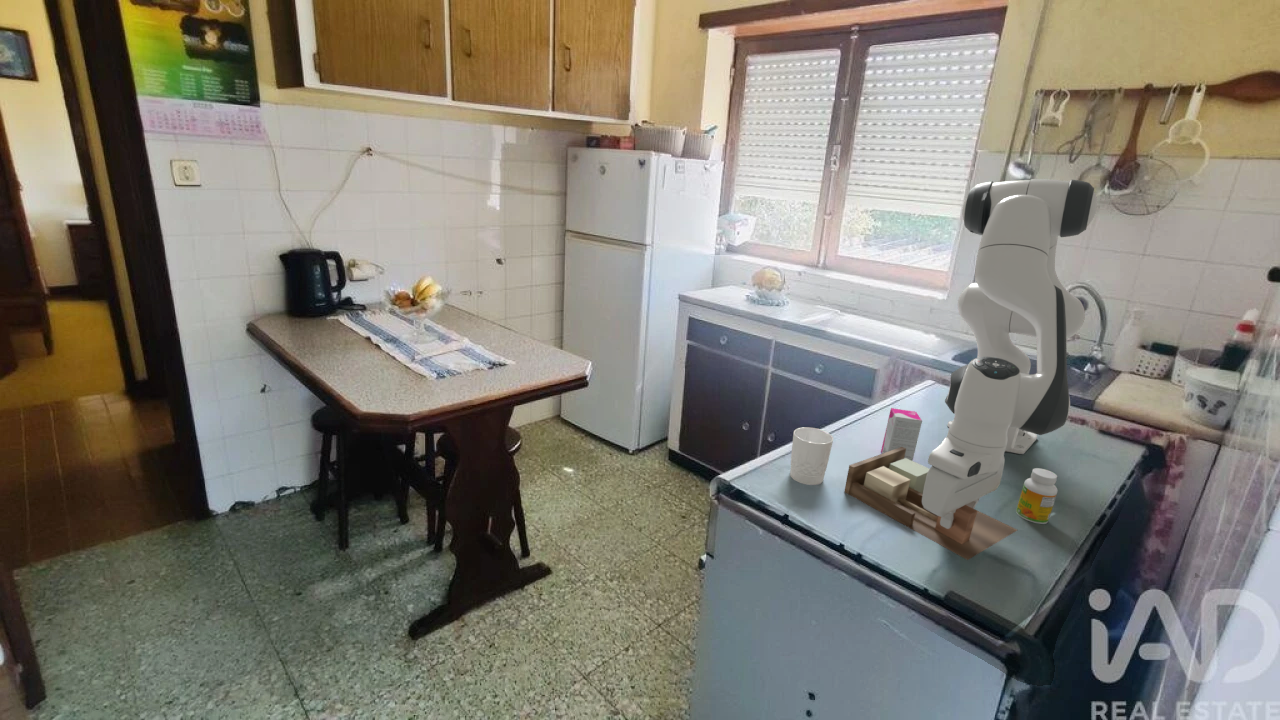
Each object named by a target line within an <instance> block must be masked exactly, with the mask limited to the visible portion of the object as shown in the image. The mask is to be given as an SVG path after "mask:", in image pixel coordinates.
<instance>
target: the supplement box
mask: <svg viewBox="0 0 1280 720" xmlns="http://www.w3.org/2000/svg"><path fill="white" fill-rule="evenodd" d="M888 414H889V415H888V420H887V425H886V428H885V433H884V437H883V442H882V446H881V449H880V454H883V453H886V452H888V451H891V450H894V449H897V448H900V447H904V448H906V452H905V456H904V458H907V459H909V460H911V461H914V458H915V453H916V449H917V444H918V440H919V436H920V432H921V428H922V424H923V420H922V418H921V416H920V415H919V414H918V413H917V411H915V410H907V409H901V408H900V409H898V408H894V407H893V408H892V407H891V408H890V411H889V413H888Z"/></svg>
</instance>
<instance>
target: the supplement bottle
mask: <svg viewBox="0 0 1280 720" xmlns="http://www.w3.org/2000/svg"><path fill="white" fill-rule="evenodd" d="M1031 471H1032V472H1031V474H1030V477H1029V478H1027V479H1025V480H1024V483H1023V485H1022V489H1021V493H1020V496H1019V500H1018V503H1017V505H1016V509H1015V512H1016V515H1017V516H1019V517H1020V518H1022V519H1023V520H1026V521H1029V522H1031V523H1035V524H1042V525H1046V524H1047V523H1049V520H1050V518H1051V513H1052V511H1053V508H1054V504H1055V501H1056V498H1057V494H1058V488H1057V486H1056V485H1055V484H1056V483H1057V480H1058V479H1057V478H1058V475H1057V474H1056V473H1054V472H1053V471H1050V470H1048V469H1045V468H1038V467H1036V468H1032V470H1031Z"/></svg>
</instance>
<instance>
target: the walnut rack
mask: <svg viewBox="0 0 1280 720" xmlns="http://www.w3.org/2000/svg"><path fill="white" fill-rule="evenodd" d="M905 452H906V448H904V447H900V448H897V449H894V450H891V451H888V452H886V453H883V454H881V453H880V454H877V455H875V456H872V457H869V458H865V459H863V460H860V461H857V462H854V463H852V464H849V465H848V471H847V475H846V480H845V486H844V490H843V491H844V493H845V494H847V495H849V496H850V497H852V498H855V499H856V500H858V501H860V502H861V503H863V504H865V505H867V506H868V507H871V509H874V510H875V511H878V512H880V513H882V514H884V515H885V516H887V517H888V518H890V519H892V520H893V521H896V522H898V523H899V524H901V525H903V526H905V527H906V528H908V529H911V530H913V531H914V532H916V533H917V534H919V535H921V536H922V537H923V536H924V537H925V538H927V539H928V540H930V541H932V542H933V543H936V544H938V545H939V546H941V547H943V548H945V549H947V550H948V551H950V552H952V553H954V554H956V555H958V556H959V557H961V558H963V559H964V560H966V561H968V560H970V559H972V558H973V557H975V556H977V555H979V554H980V553H982V552H983V551H985V550H987V549H988V548H990V547H992V546H994V545H996V544H997V543H999V542H1000V541H1002V540H1004V539H1006V538H1008V537H1010V535H1012V534H1013V533H1015V532H1017V531H1018V529H1016V528H1015V527H1013V526H1011V525H1008V524H1006V523H1004V522H1003V521H1000V520H998V519H996V518H994V517H992V516H989V515H987V514H986V513H983V512H981V511H979V510H977V515H976V518H975V521H974V525H973V528H972V532H971V535H970V539H969V540H968V541H966V542H965V543H963V544H961V543H959V542H957V541H955V540H953V539H951V538H950V537H948V536H946V535H944V534H942V533H941V532H939V531H937V530H935V527H936V523H937V522H935V521H933V520H931V519H929V518H927V517H925V516H924V515H922V514H920V513H918V512H916V511H914V510H912V509H911V508H909V507H907V506H905V505H903V504H900V505H899V504H897V503H895V502H893V501H892V500H890V499H888V498H886V497H884V496H882V495H880V494H878V493H876V492H874V491H873V490H871V489H869V488H867V487H865V486H864V482H865V477H866V472H869V471H872V470H874V469H877V468H880V467H883V466H884V467H886V468H888V469H889V466H890V464H891V463H894V462H896V461H899V460H902V459H904V456H905ZM922 495H923V494H922V493H920V492H918V491H916V490H914V489H912V488H910V487H909V488H908V492H907V496H906V500H907V501H909V502H911V503H912V504H914V505H916V506H918V507H920V508H922V509H924V507H923V505H922ZM924 510H926V509H924ZM926 511H927V512H929V513H931V512H930V511H928V510H926ZM931 514H933V513H931ZM933 515H935V514H933ZM935 516H937V515H935ZM937 517H938V516H937Z"/></svg>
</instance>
